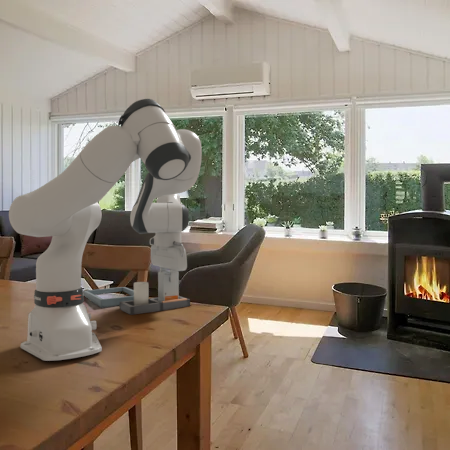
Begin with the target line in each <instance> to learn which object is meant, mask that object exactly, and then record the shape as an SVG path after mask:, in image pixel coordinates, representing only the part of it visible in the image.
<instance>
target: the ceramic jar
mask: <svg viewBox="0 0 450 450" xmlns="http://www.w3.org/2000/svg"><path fill="white" fill-rule="evenodd" d="M149 288H150V287H149V281H136V282H133V290H134V306H136V305H144V304H149V296H150V295H149V292H150V291H149V290H150V289H149Z"/></svg>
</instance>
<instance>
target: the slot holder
mask: <svg viewBox="0 0 450 450" xmlns="http://www.w3.org/2000/svg"><path fill="white" fill-rule="evenodd" d="M118 306H119V310H120V311H122V312H124V313H125V314H128V315H131V316H133V315H139V314H140V315H141V314H146V313H157V312H162V311H168V310H175V309H179V308H185V307H190V306H191V299H190V298H188V297H184V296H180V295H179V299H175V300H167V301H162V302H159V301H158V297H152V298H151V297H150V298H149V304H144V305H136V306H134V300H132V301H123V302H119V305H118Z"/></svg>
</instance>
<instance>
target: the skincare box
mask: <svg viewBox="0 0 450 450" xmlns="http://www.w3.org/2000/svg"><path fill="white" fill-rule="evenodd" d="M179 272H180V271H178V273H177V275H176V282H175V283H171V282H169V277H170V275H171V272H170V270H166V271H160V270H159V271H158V272H157V282H158V285H157V288H158V289H157V292H158V293H157V294H158V295H157V296H158V297H157V298H158V301H159V302H162V301H167V300H175V299H179V296H180V295H179V293H180V291H179V290H180V287H179V284H180V283H179V282H180V281H179V277H180V273H179Z"/></svg>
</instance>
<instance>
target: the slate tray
mask: <svg viewBox="0 0 450 450" xmlns="http://www.w3.org/2000/svg"><path fill="white" fill-rule="evenodd" d="M117 292H118V293H119V292H124V293H126V294H128V295H127V296H118V297H108V298H101V297H100V296H98V295H104V294H103V293H105V294H112V293H117ZM83 293H84V296H85V297H84V298H86V299H87V298H88V299H87V300H89V301H90V300H91V301H90V302H92V303H93V304H94V305H96V306H97V305H98V306H97V307H99V309H100V308H101V309H105V308H111V307H116V306H117V307H118V306H119V302H123V301H132V300H134V289H132V288H129V287H126V286H119V287H118V286H117V287H109V288H98V289H89V290H88V289H87V290H83ZM95 294H97V295H95Z"/></svg>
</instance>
